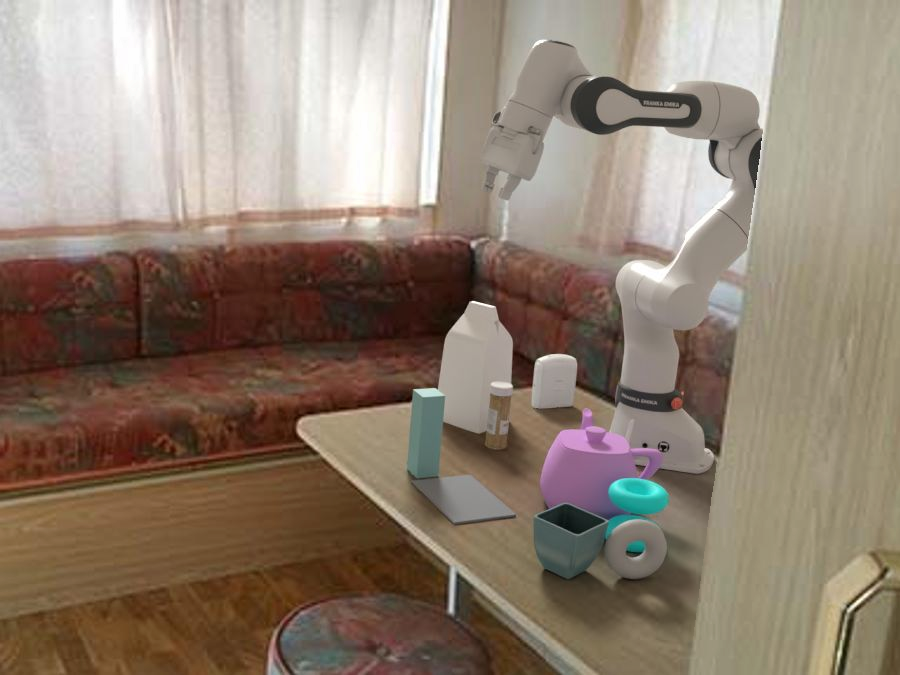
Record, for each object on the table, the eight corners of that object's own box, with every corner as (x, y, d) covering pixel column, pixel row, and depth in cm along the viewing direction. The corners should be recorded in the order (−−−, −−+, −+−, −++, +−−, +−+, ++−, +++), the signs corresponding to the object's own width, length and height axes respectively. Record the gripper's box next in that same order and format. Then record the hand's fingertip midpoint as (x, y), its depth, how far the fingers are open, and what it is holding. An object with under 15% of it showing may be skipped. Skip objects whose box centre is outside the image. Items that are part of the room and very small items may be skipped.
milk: (433, 418, 231) (443, 302, 224) (465, 407, 240) (475, 294, 233) (478, 433, 224) (490, 314, 217) (509, 421, 233) (521, 306, 226)
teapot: (661, 533, 184) (674, 452, 180) (540, 522, 184) (549, 441, 180) (643, 482, 206) (654, 408, 202) (534, 471, 206) (543, 398, 202)
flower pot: (603, 571, 169) (610, 520, 166) (571, 589, 162) (578, 535, 160) (559, 551, 174) (565, 501, 172) (526, 568, 168) (532, 515, 165)
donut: (603, 583, 165) (611, 524, 162) (597, 572, 168) (605, 514, 166) (665, 583, 167) (674, 525, 164) (658, 573, 170) (667, 515, 167)
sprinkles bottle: (508, 451, 216) (515, 388, 212) (486, 450, 215) (492, 387, 212) (504, 442, 220) (510, 380, 217) (482, 442, 219) (488, 380, 216)
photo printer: (536, 410, 242) (542, 358, 238) (527, 404, 245) (533, 352, 242) (575, 407, 246) (581, 356, 243) (566, 401, 250) (572, 351, 246)
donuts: (655, 505, 171) (599, 487, 176) (647, 561, 174) (592, 542, 179) (679, 487, 179) (624, 470, 184) (670, 541, 182) (617, 523, 187)
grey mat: (411, 482, 196) (412, 480, 196) (470, 476, 201) (470, 474, 201) (454, 524, 181) (454, 522, 181) (515, 516, 186) (516, 514, 186)
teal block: (406, 469, 202) (413, 389, 198) (428, 467, 204) (435, 387, 200) (416, 478, 198) (423, 397, 194) (438, 476, 200) (445, 395, 196)
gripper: (560, 137, 187) (529, 210, 189) (518, 126, 206) (491, 192, 208) (529, 123, 185) (498, 197, 187) (490, 113, 203) (462, 181, 205)
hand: (494, 195), depth 197 cm, fingers open, 8 cm apart
